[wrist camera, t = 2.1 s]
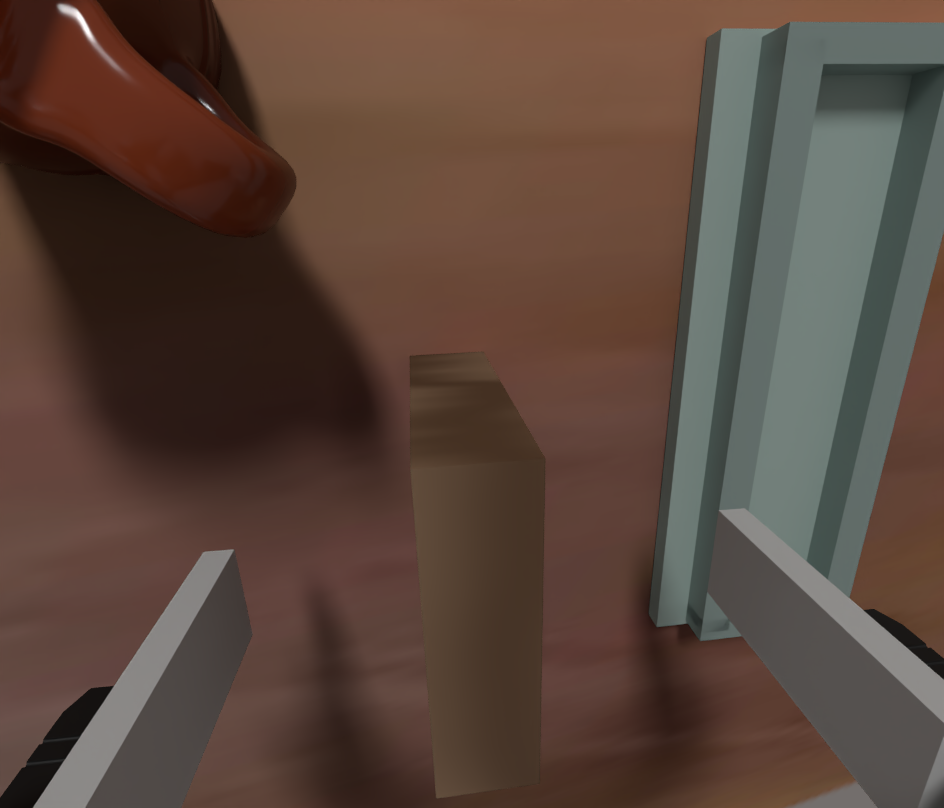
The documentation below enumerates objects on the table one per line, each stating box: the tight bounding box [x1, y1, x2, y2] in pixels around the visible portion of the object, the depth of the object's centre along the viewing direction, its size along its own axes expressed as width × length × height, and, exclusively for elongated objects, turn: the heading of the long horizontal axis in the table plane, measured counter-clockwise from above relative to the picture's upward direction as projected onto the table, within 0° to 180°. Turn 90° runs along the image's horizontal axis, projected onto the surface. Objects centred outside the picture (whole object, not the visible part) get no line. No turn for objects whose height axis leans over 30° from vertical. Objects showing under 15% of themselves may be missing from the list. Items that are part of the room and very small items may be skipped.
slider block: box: [410, 352, 545, 799], centre depth 16 cm, size 3×9×9 cm, turn 2°
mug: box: [0, 0, 296, 238], centre depth 10 cm, size 12×9×10 cm
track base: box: [649, 22, 944, 641], centre depth 19 cm, size 9×22×2 cm, turn 2°
